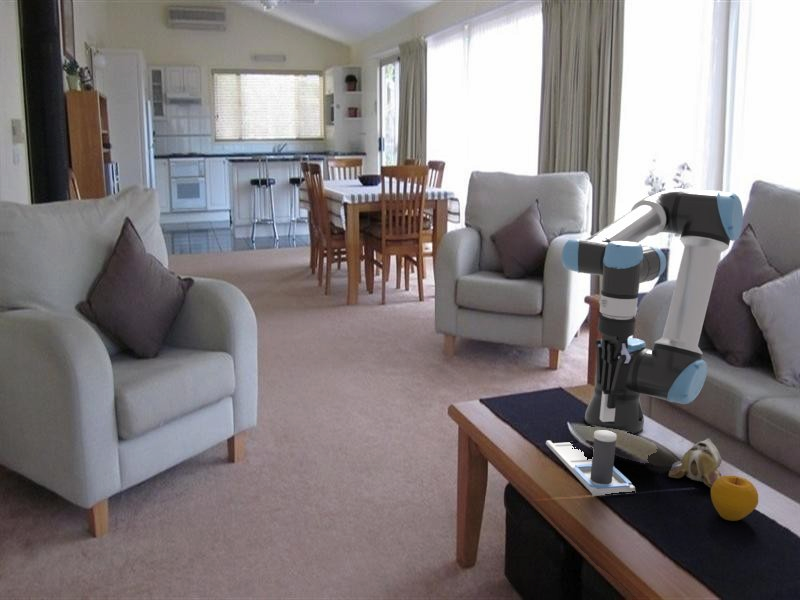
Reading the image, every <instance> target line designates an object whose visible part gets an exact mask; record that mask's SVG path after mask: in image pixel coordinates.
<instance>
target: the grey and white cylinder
mask: <svg viewBox="0 0 800 600" xmlns="http://www.w3.org/2000/svg"><path fill="white" fill-rule="evenodd" d="M617 438H618V433H614V432H612V431H609V430H600V429H597V430H595V431H594V432H593V446H592V448H593V457H592V467H591V480H592V481H593V482H595V483H599V484H609V483H611V482H612V475H613V466H615V465H614V463H615V455H616V453H615V452H616V442H617Z"/></svg>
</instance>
